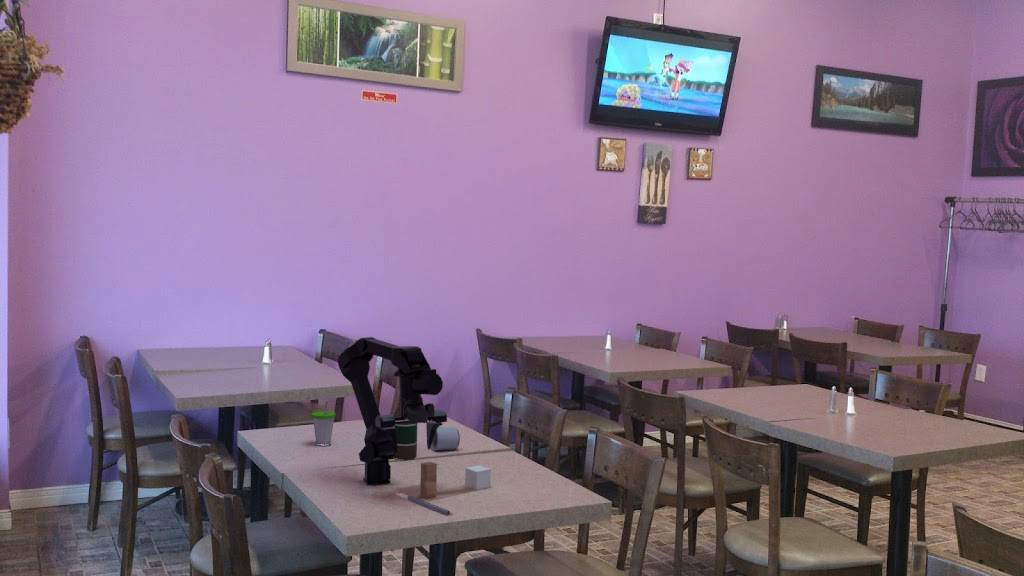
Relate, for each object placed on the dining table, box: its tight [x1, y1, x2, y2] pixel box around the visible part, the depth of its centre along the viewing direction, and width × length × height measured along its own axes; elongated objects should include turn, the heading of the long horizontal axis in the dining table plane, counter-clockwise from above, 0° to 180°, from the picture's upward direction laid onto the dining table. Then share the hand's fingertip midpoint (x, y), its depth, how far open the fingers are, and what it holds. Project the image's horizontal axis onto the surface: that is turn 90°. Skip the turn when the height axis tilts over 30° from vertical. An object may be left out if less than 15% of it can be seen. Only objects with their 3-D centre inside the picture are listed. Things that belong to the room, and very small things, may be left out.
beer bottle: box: [393, 401, 418, 461], centre depth 299 cm, size 8×8×24 cm
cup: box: [311, 401, 337, 445], centre depth 313 cm, size 8×8×15 cm
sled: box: [415, 461, 493, 502], centre depth 259 cm, size 6×22×10 cm, turn 132°
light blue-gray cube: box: [464, 464, 492, 491], centre depth 264 cm, size 5×5×5 cm
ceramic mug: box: [431, 426, 461, 452], centre depth 312 cm, size 11×8×8 cm
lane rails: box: [406, 495, 451, 516], centre depth 256 cm, size 17×25×1 cm
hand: (412, 450), depth 259 cm, fingers open, 9 cm apart
